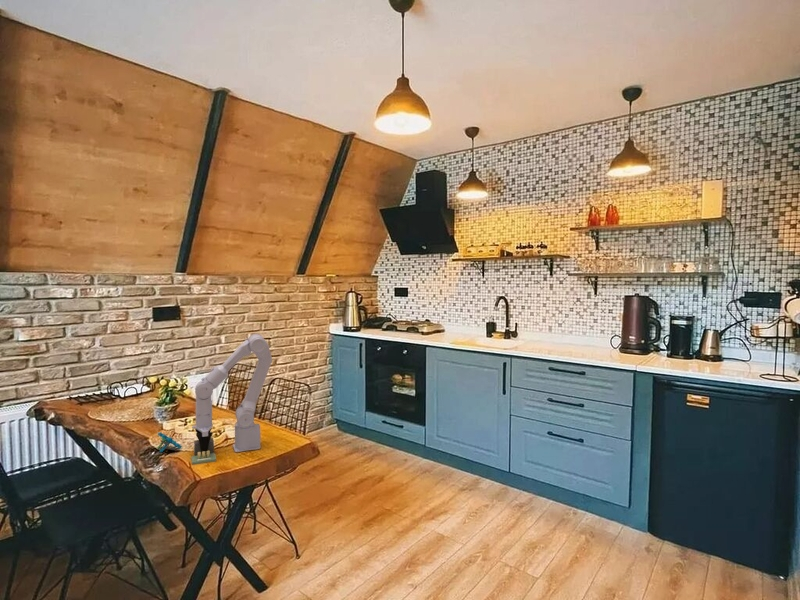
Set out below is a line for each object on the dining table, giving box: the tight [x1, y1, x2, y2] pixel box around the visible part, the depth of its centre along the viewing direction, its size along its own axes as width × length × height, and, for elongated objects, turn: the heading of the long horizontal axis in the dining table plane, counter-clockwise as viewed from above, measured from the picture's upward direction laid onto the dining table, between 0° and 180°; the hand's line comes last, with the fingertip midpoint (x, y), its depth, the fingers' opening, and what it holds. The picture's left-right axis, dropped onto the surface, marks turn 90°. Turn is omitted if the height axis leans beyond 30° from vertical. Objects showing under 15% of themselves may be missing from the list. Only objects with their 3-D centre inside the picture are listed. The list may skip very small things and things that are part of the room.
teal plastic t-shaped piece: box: [157, 431, 183, 453], centre depth 174 cm, size 11×6×10 cm
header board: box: [190, 451, 217, 466], centre depth 167 cm, size 8×6×3 cm
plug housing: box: [193, 437, 215, 456], centre depth 173 cm, size 7×4×4 cm, turn 116°
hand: (204, 448), depth 173 cm, fingers closed on plug housing, 4 cm apart
